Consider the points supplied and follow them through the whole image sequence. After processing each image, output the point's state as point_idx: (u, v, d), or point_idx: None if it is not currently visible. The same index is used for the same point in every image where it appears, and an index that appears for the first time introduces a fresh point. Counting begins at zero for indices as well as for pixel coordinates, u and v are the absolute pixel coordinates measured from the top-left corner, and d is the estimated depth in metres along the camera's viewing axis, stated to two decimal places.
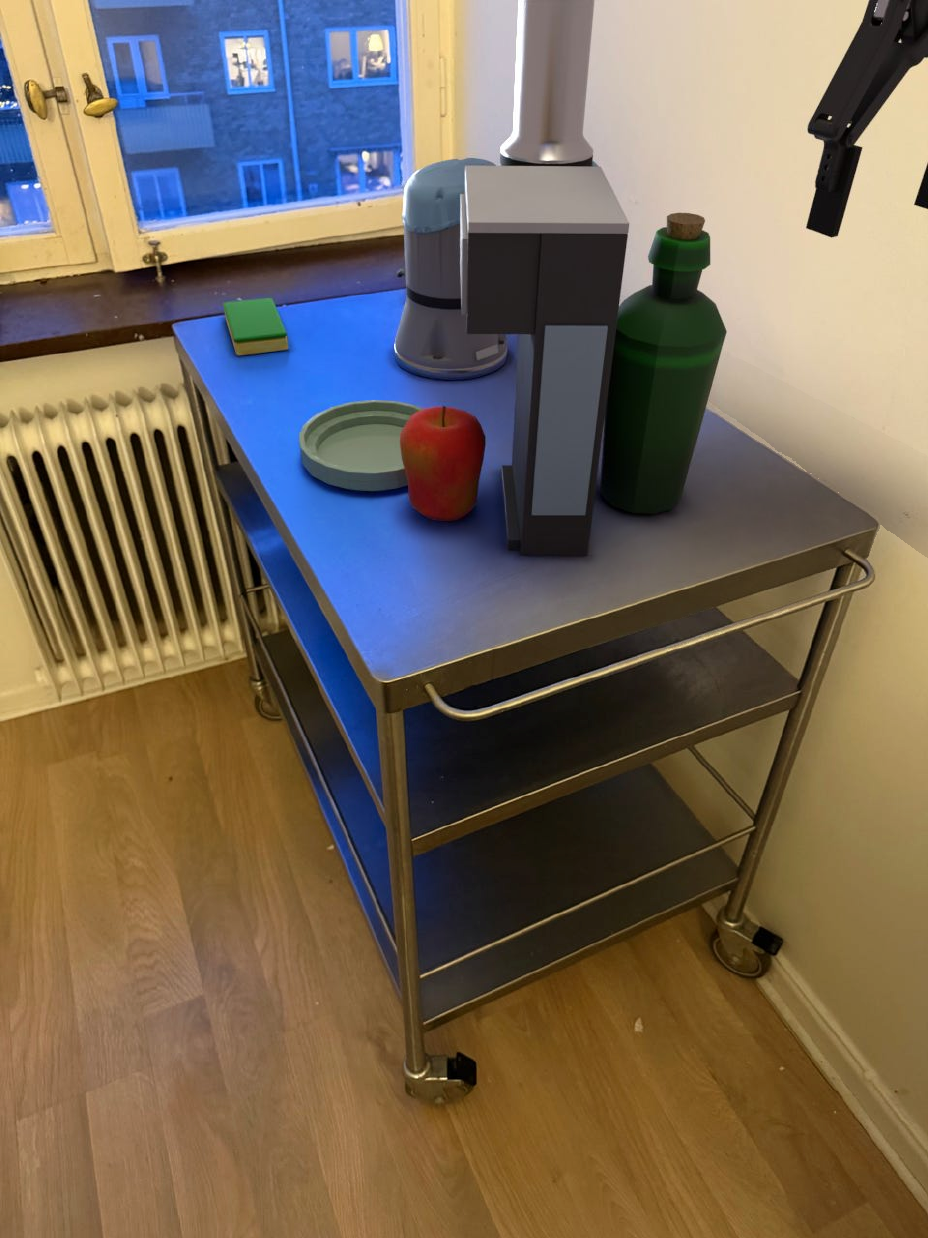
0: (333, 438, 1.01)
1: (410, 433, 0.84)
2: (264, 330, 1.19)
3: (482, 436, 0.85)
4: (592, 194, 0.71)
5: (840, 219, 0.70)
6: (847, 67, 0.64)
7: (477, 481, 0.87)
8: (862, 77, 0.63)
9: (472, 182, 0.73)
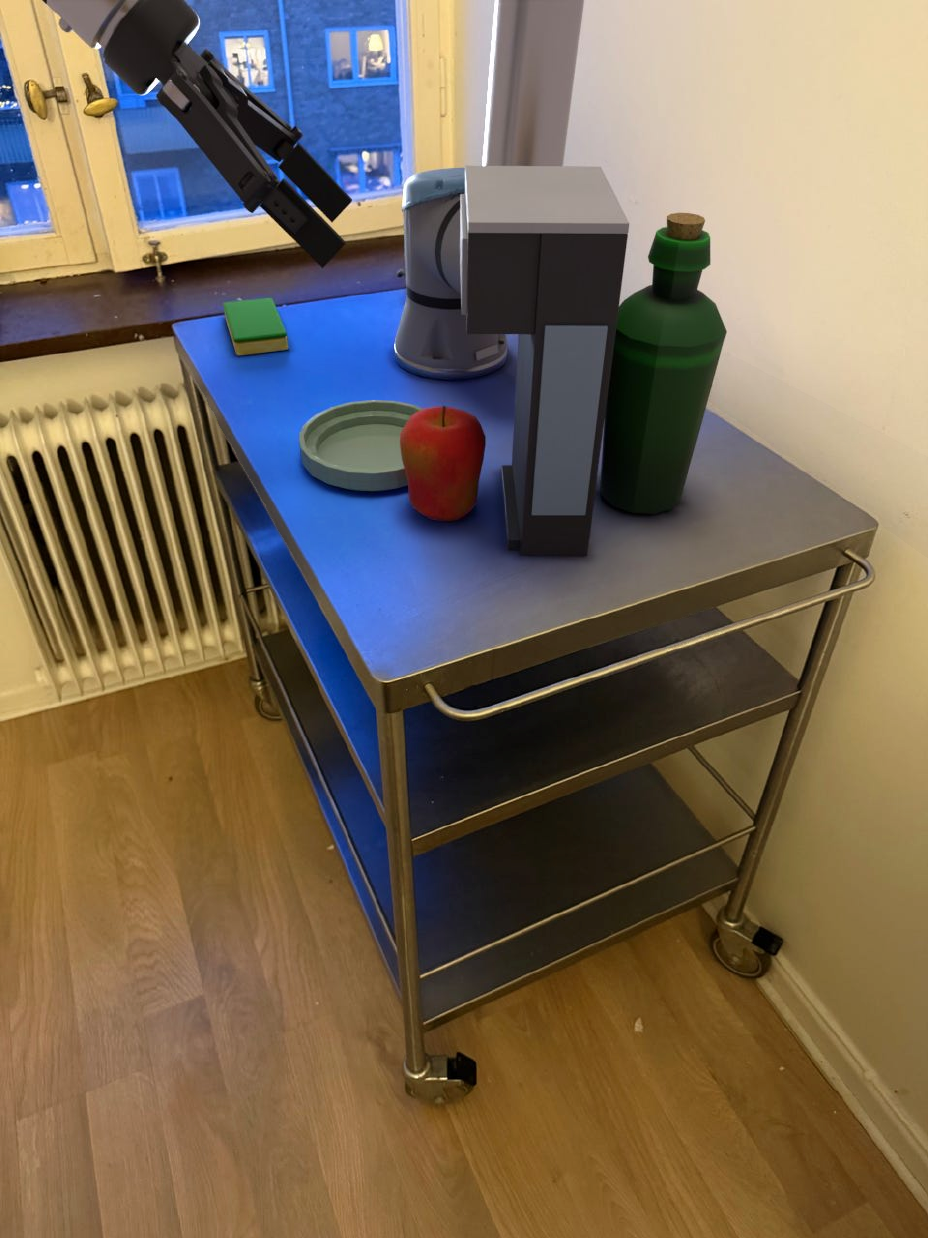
0: (333, 438, 1.01)
1: (410, 433, 0.84)
2: (264, 330, 1.19)
3: (482, 436, 0.85)
4: (592, 194, 0.71)
5: None
6: None
7: (477, 481, 0.87)
8: None
9: (472, 182, 0.73)
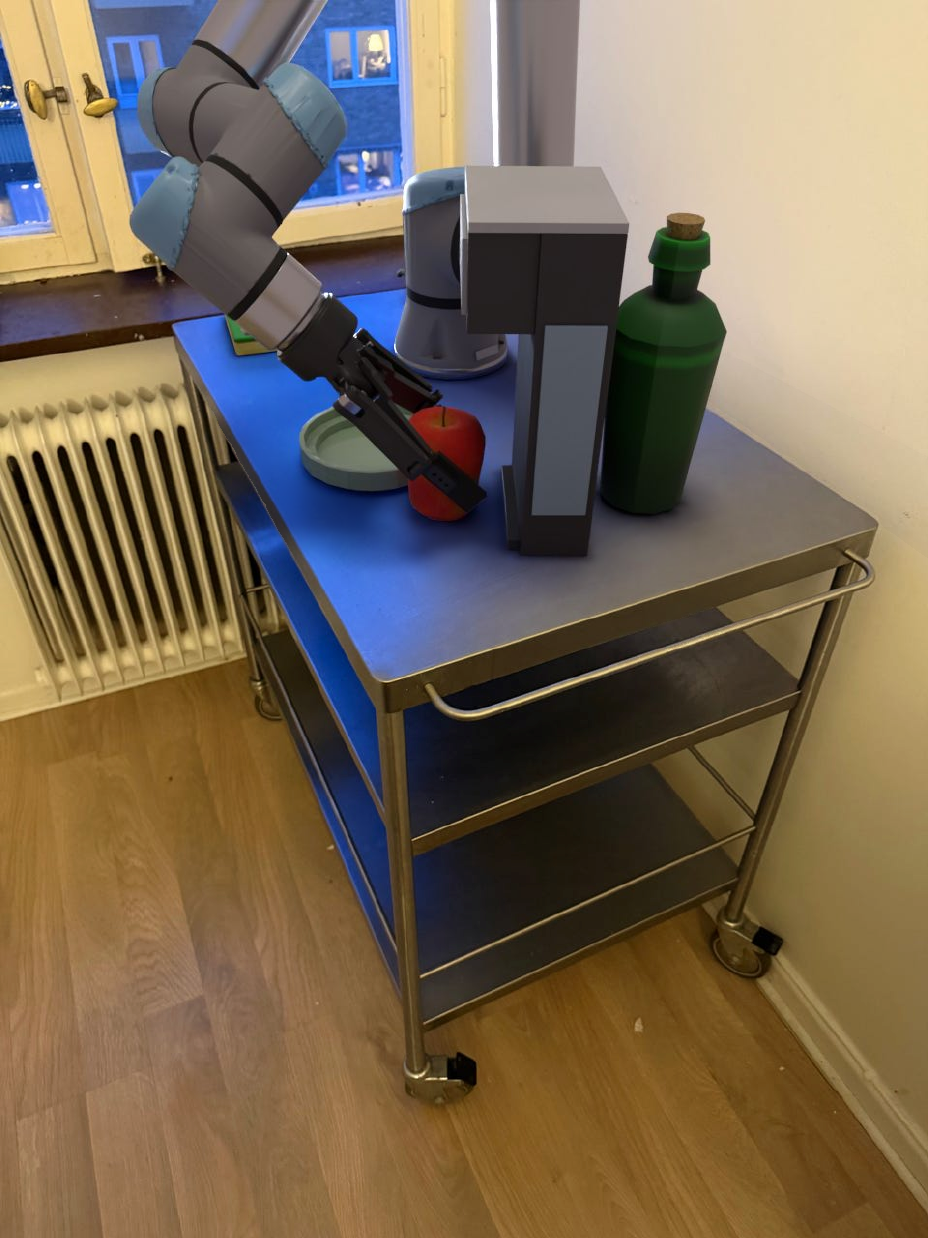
0: (333, 438, 1.01)
1: None
2: None
3: (482, 436, 0.85)
4: (592, 194, 0.71)
5: None
6: None
7: (477, 481, 0.87)
8: None
9: (472, 182, 0.73)
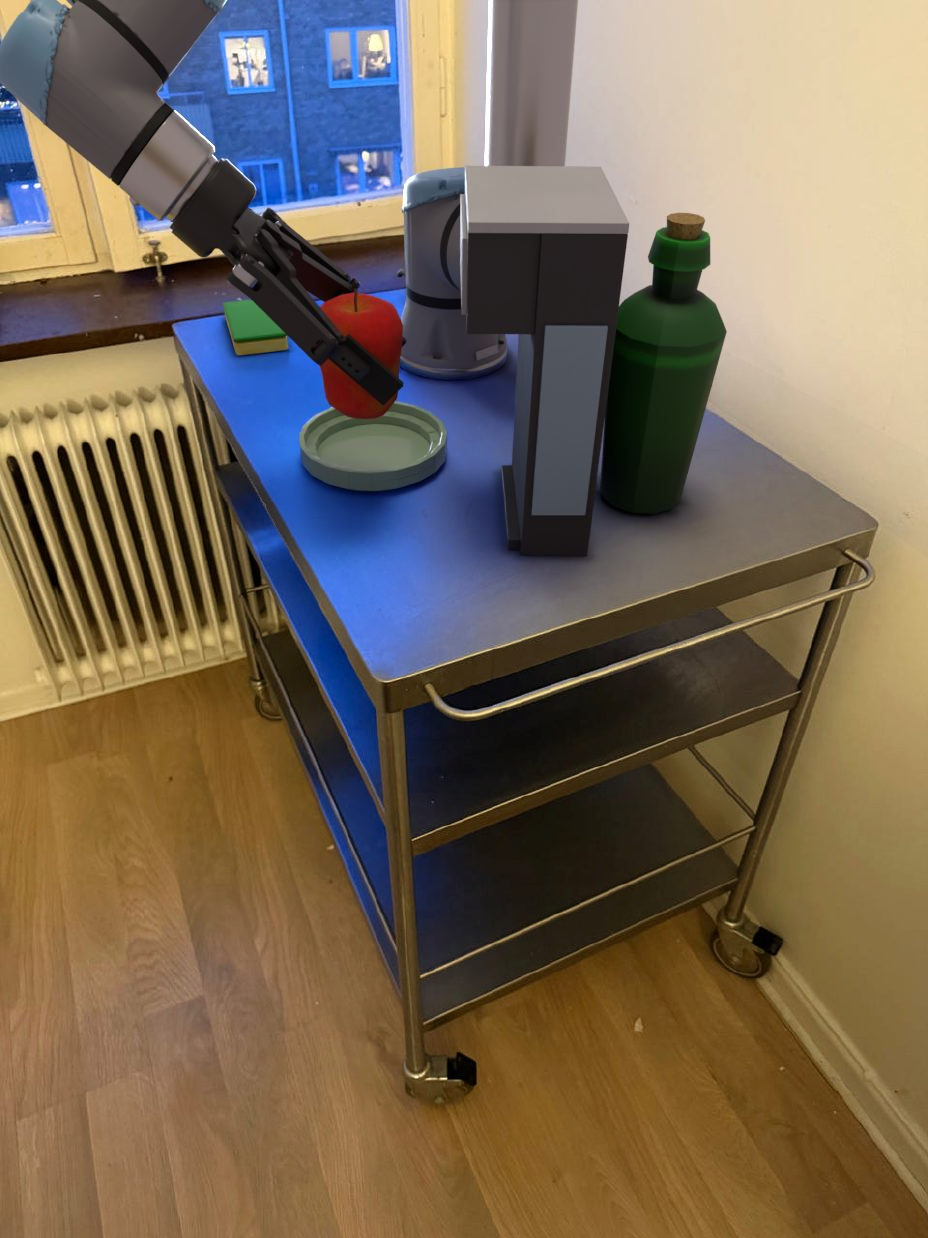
0: (333, 438, 1.01)
1: None
2: (264, 330, 1.19)
3: (398, 322, 0.79)
4: (592, 194, 0.71)
5: None
6: None
7: (395, 374, 0.82)
8: None
9: (472, 182, 0.73)
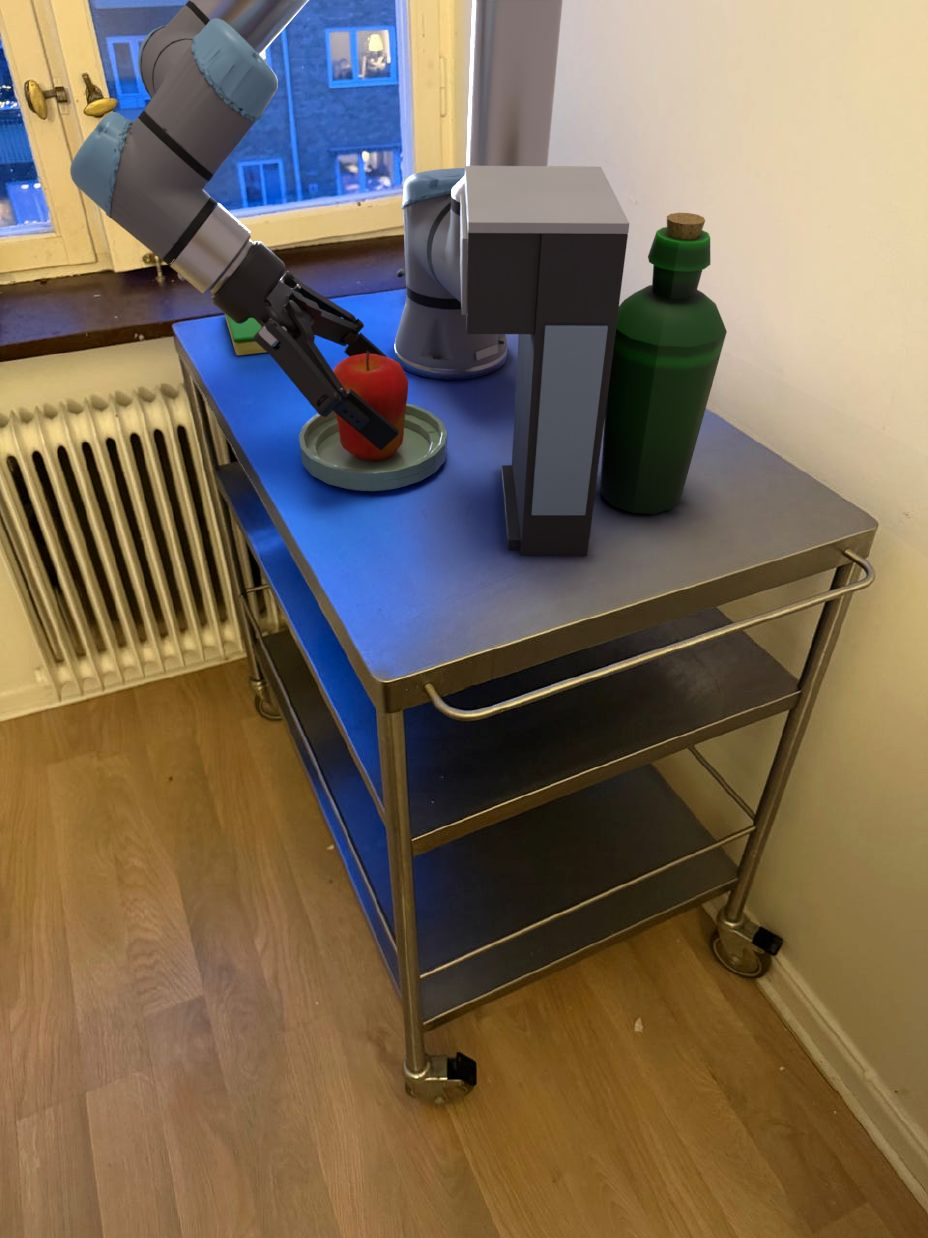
0: (333, 438, 1.01)
1: (337, 376, 0.91)
2: None
3: (404, 379, 0.92)
4: (592, 194, 0.71)
5: None
6: None
7: (401, 423, 0.95)
8: None
9: (472, 182, 0.73)
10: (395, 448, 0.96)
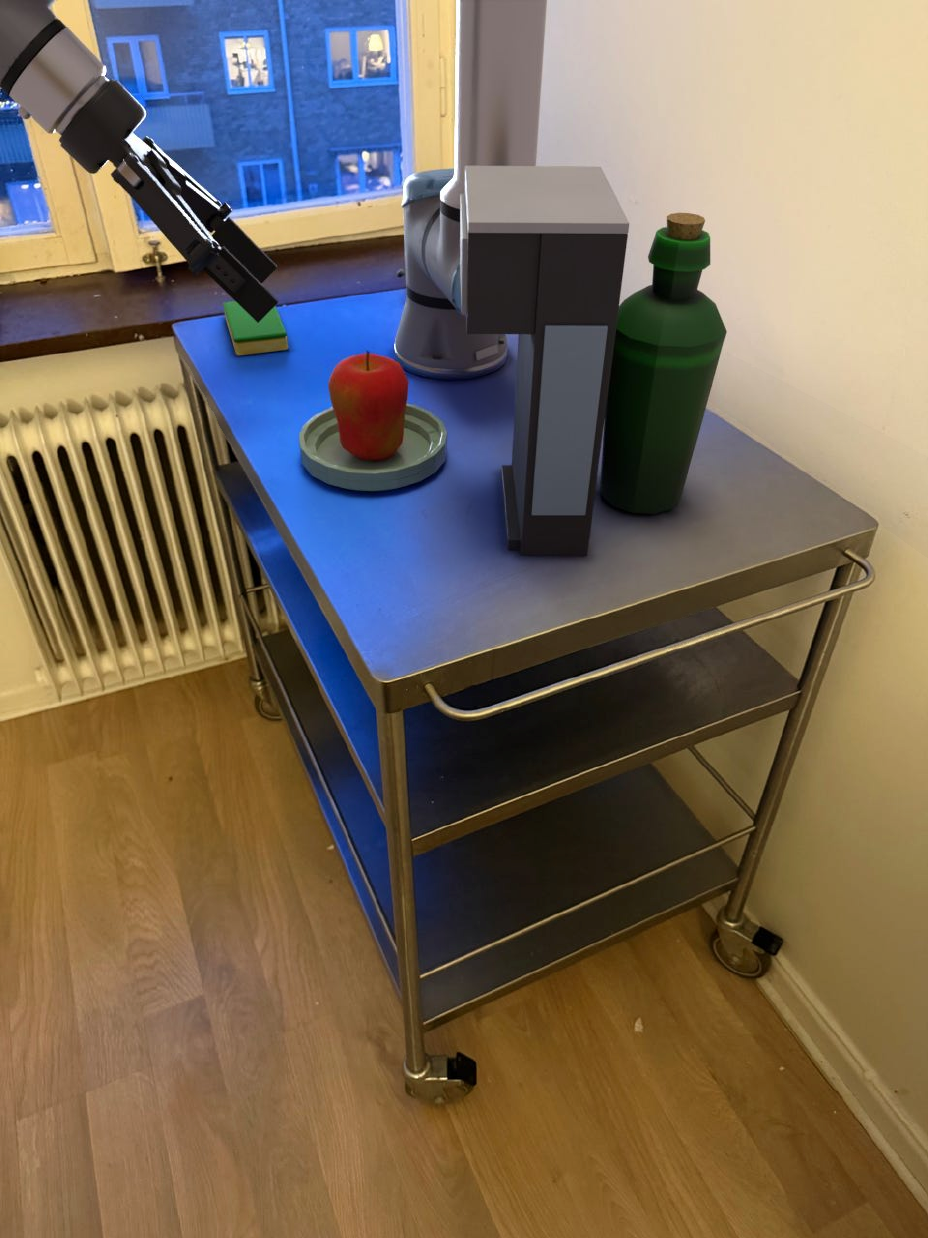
0: (333, 438, 1.01)
1: (337, 376, 0.91)
2: (264, 330, 1.19)
3: (404, 379, 0.92)
4: (592, 194, 0.71)
5: None
6: None
7: (401, 423, 0.95)
8: None
9: (472, 182, 0.73)
10: (395, 448, 0.96)
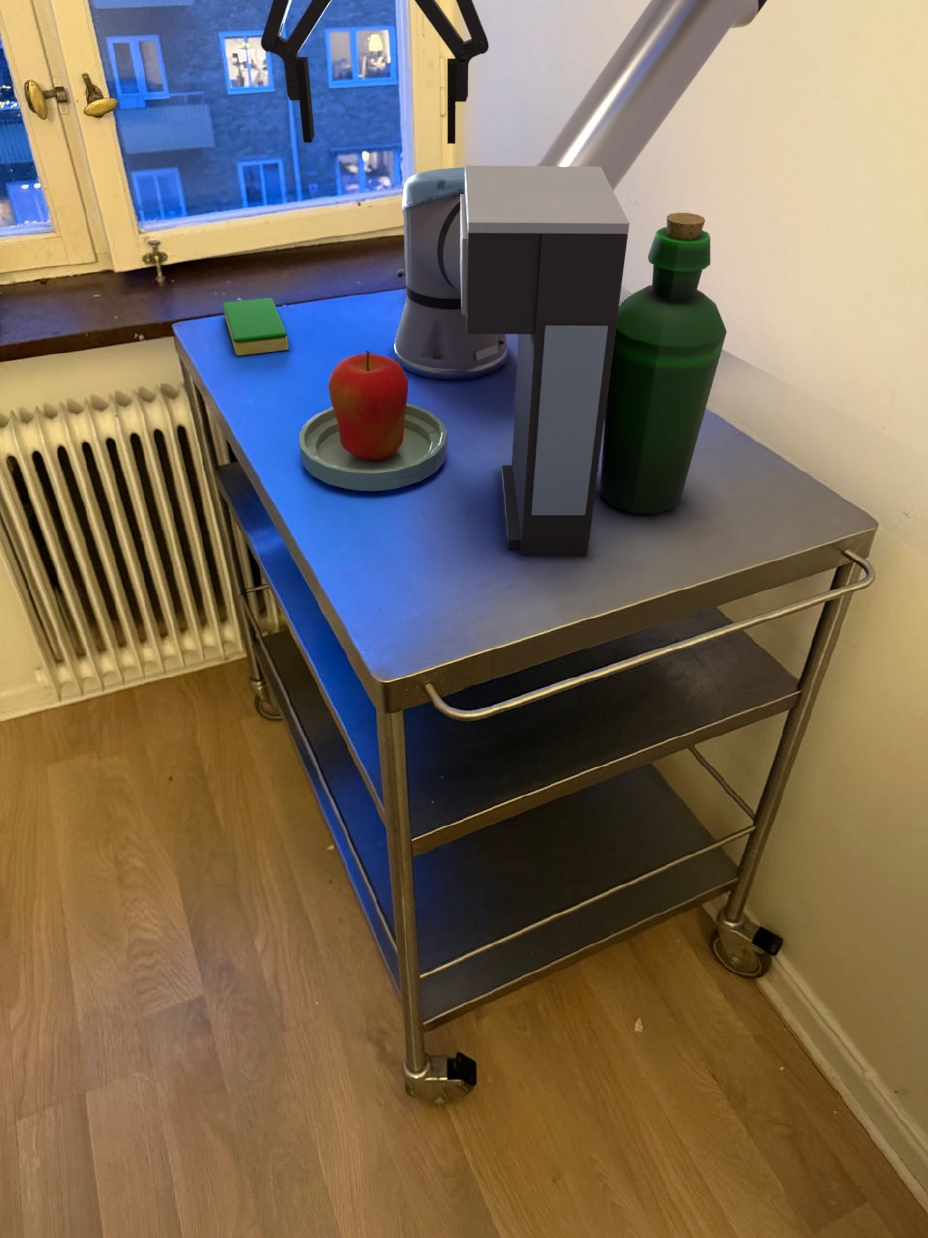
0: (333, 438, 1.01)
1: (337, 376, 0.91)
2: (264, 330, 1.19)
3: (404, 379, 0.92)
4: (592, 194, 0.71)
5: (307, 126, 0.82)
6: None
7: (401, 423, 0.95)
8: None
9: (472, 182, 0.73)
10: (395, 448, 0.96)
